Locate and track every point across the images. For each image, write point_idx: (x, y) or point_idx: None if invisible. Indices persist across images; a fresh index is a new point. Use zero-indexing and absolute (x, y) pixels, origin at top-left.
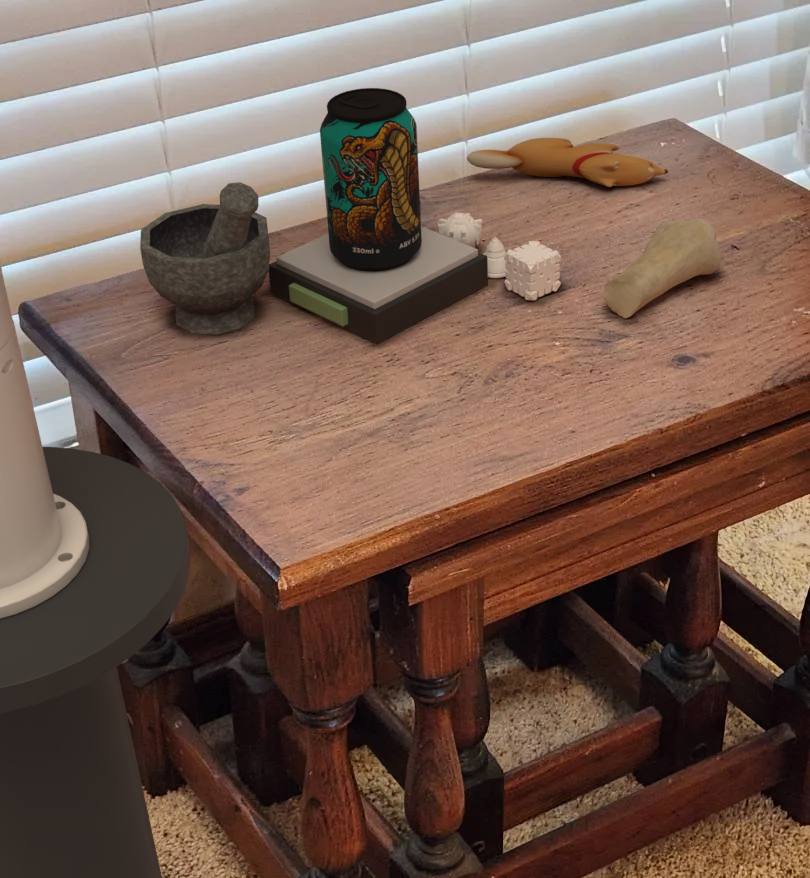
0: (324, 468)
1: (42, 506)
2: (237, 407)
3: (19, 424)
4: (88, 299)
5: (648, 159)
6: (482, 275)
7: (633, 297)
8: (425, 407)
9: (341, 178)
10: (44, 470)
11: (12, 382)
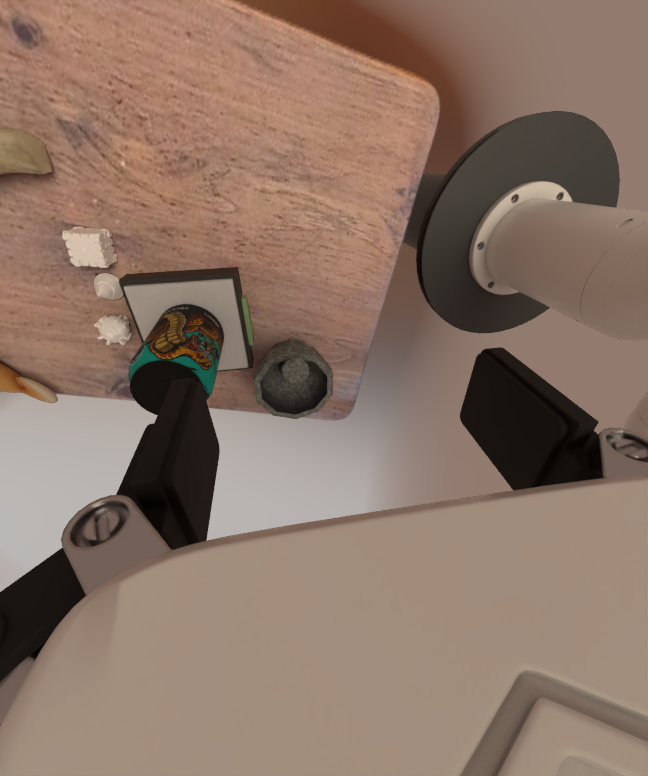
0: (354, 168)
1: (538, 209)
2: (343, 270)
3: (590, 214)
4: (327, 409)
5: None
6: (128, 276)
7: (25, 138)
8: (259, 174)
9: (214, 355)
10: (536, 221)
11: (613, 220)
